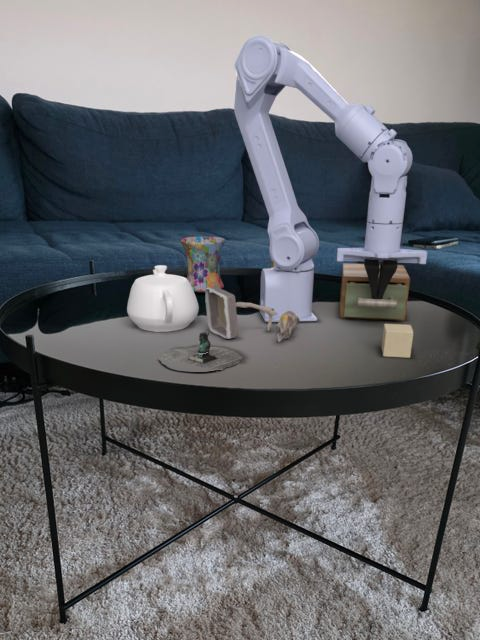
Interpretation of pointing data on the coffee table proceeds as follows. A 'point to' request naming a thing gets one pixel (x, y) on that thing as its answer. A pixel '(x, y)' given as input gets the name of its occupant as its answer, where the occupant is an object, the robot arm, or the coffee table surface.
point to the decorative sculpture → (225, 315)
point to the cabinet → (359, 274)
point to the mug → (203, 262)
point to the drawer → (374, 301)
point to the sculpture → (204, 355)
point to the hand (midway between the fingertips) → (375, 304)
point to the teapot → (162, 302)
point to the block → (397, 340)
